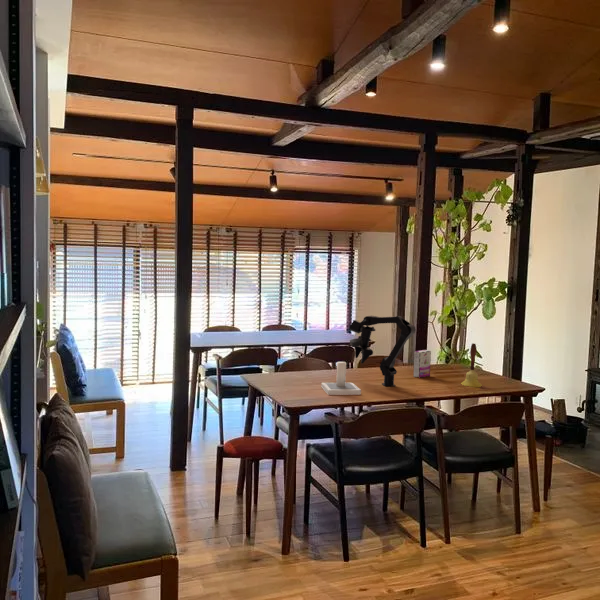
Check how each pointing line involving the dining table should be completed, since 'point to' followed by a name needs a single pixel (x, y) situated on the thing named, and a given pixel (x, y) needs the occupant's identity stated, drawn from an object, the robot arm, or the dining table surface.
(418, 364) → the candy bar box
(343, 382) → the cream vase
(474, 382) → the handbell
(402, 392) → the dining table surface
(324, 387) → the base plate
